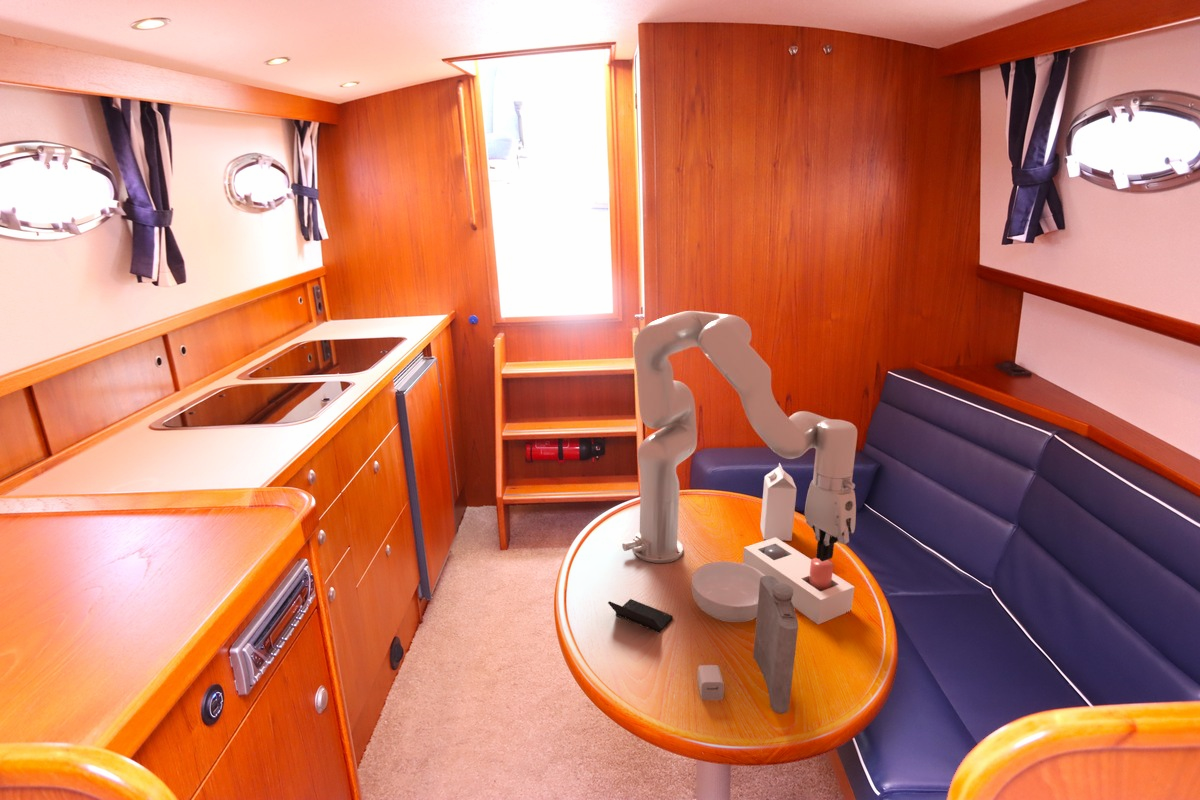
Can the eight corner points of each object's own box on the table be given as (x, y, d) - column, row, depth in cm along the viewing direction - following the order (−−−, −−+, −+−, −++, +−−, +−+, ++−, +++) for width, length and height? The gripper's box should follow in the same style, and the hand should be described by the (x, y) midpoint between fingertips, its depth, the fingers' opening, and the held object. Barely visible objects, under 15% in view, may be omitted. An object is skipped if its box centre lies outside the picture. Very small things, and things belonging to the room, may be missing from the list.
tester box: (817, 624, 138) (820, 600, 136) (742, 569, 158) (743, 547, 156) (851, 610, 143) (854, 586, 141) (773, 558, 163) (775, 537, 161)
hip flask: (751, 652, 130) (759, 563, 124) (772, 652, 130) (780, 563, 124) (773, 713, 115) (783, 616, 109) (796, 713, 115) (807, 616, 109)
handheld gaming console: (676, 606, 141) (662, 589, 134) (669, 640, 138) (654, 624, 130) (627, 599, 147) (611, 582, 139) (619, 632, 143) (602, 615, 136)
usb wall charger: (700, 700, 118) (701, 682, 117) (695, 673, 124) (696, 655, 123) (722, 700, 118) (724, 681, 117) (716, 673, 124) (717, 655, 123)
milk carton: (786, 528, 177) (793, 463, 172) (791, 541, 171) (798, 474, 165) (760, 526, 178) (765, 462, 172) (763, 540, 171) (769, 473, 166)
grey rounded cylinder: (772, 578, 153) (774, 557, 151) (758, 568, 157) (760, 548, 155) (787, 572, 155) (789, 552, 153) (773, 563, 159) (775, 543, 157)
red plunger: (819, 593, 140) (822, 571, 138) (803, 583, 144) (806, 561, 142) (835, 587, 142) (838, 565, 141) (819, 577, 146) (821, 555, 144)
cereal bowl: (682, 624, 138) (683, 595, 136) (698, 581, 153) (700, 555, 151) (764, 642, 133) (767, 612, 131) (773, 596, 148) (775, 569, 146)
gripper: (875, 489, 131) (864, 570, 136) (818, 463, 143) (810, 538, 149) (848, 497, 127) (839, 580, 133) (792, 470, 140) (786, 547, 145)
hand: (824, 558), depth 141 cm, fingers closed
